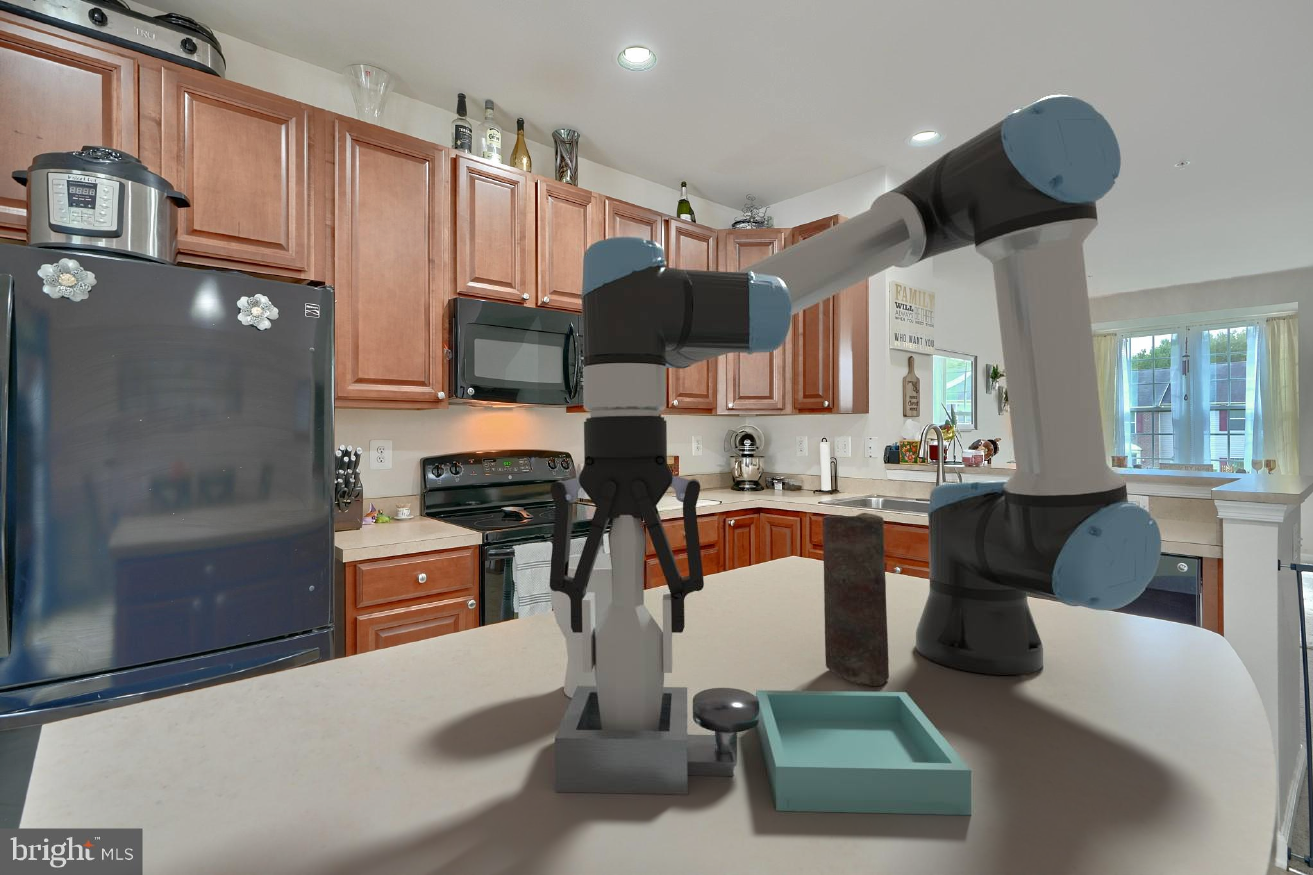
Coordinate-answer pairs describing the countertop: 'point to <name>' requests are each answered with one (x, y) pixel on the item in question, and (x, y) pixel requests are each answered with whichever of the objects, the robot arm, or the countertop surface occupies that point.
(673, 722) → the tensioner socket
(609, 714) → the grey faceted bottle
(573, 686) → the cup
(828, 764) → the tray
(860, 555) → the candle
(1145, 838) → the countertop surface
